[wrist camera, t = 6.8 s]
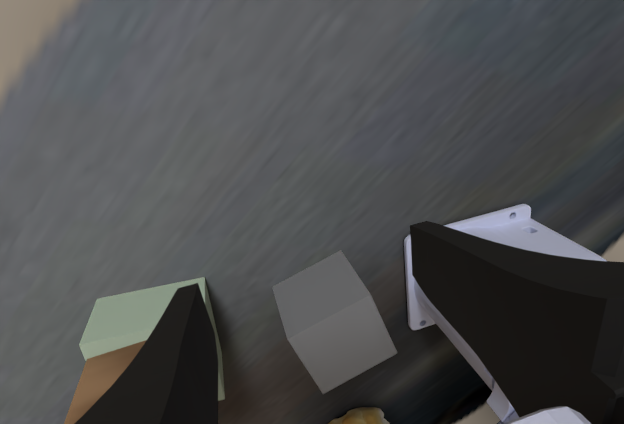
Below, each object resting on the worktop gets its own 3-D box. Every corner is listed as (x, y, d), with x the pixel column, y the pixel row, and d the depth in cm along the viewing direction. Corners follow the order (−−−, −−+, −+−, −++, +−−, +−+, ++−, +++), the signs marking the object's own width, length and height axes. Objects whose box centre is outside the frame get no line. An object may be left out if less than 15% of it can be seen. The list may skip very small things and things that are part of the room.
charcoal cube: (340, 249, 25) (370, 294, 21) (365, 302, 28) (397, 353, 23) (271, 286, 25) (287, 339, 21) (303, 336, 28) (323, 394, 23)
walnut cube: (188, 326, 20) (184, 407, 16) (216, 393, 22) (220, 480, 18) (87, 358, 19) (53, 452, 15) (126, 424, 22) (107, 522, 17)
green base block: (204, 275, 24) (205, 317, 20) (221, 350, 26) (224, 399, 23) (97, 296, 23) (79, 345, 19) (126, 373, 25) (114, 428, 22)
